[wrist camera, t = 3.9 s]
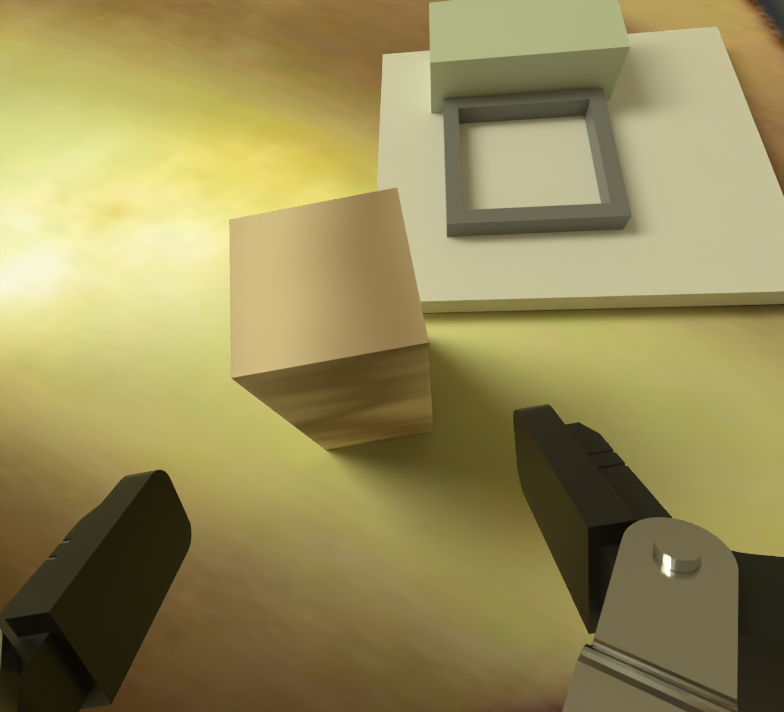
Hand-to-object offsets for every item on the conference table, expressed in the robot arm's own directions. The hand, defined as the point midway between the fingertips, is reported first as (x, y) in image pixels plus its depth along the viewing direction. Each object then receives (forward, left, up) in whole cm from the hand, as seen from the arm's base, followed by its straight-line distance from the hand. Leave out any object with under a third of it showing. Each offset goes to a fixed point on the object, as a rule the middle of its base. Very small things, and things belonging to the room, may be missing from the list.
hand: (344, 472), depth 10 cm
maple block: (-1, +5, -10) cm, 11 cm away
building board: (+9, +18, -10) cm, 22 cm away
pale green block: (+7, +24, -9) cm, 27 cm away
